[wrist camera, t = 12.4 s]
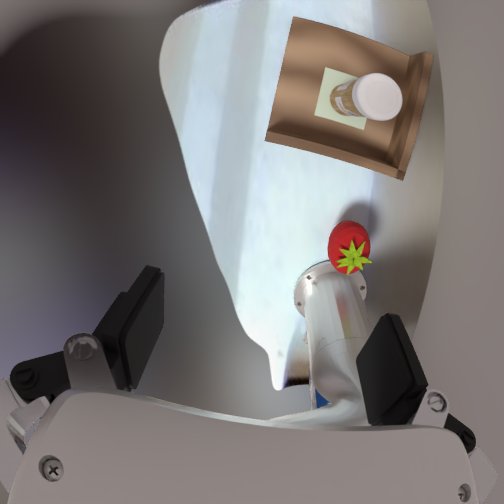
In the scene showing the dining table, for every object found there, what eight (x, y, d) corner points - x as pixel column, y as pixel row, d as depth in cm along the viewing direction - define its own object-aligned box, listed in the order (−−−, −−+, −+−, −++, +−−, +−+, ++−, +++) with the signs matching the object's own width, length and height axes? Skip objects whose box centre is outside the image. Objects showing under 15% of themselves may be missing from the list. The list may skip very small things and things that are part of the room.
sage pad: (363, 130, 34) (363, 130, 33) (314, 115, 33) (314, 115, 33) (374, 83, 30) (375, 83, 30) (325, 67, 30) (325, 67, 30)
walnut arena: (387, 170, 36) (402, 180, 32) (266, 136, 36) (264, 140, 31) (414, 60, 28) (433, 55, 23) (292, 17, 27) (295, 4, 22)
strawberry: (361, 208, 40) (383, 237, 31) (356, 253, 43) (374, 290, 34) (323, 208, 40) (336, 237, 31) (320, 253, 44) (331, 291, 35)
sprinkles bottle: (329, 114, 33) (357, 118, 21) (328, 82, 31) (356, 68, 19) (362, 117, 33) (403, 124, 21) (362, 85, 31) (404, 77, 19)
